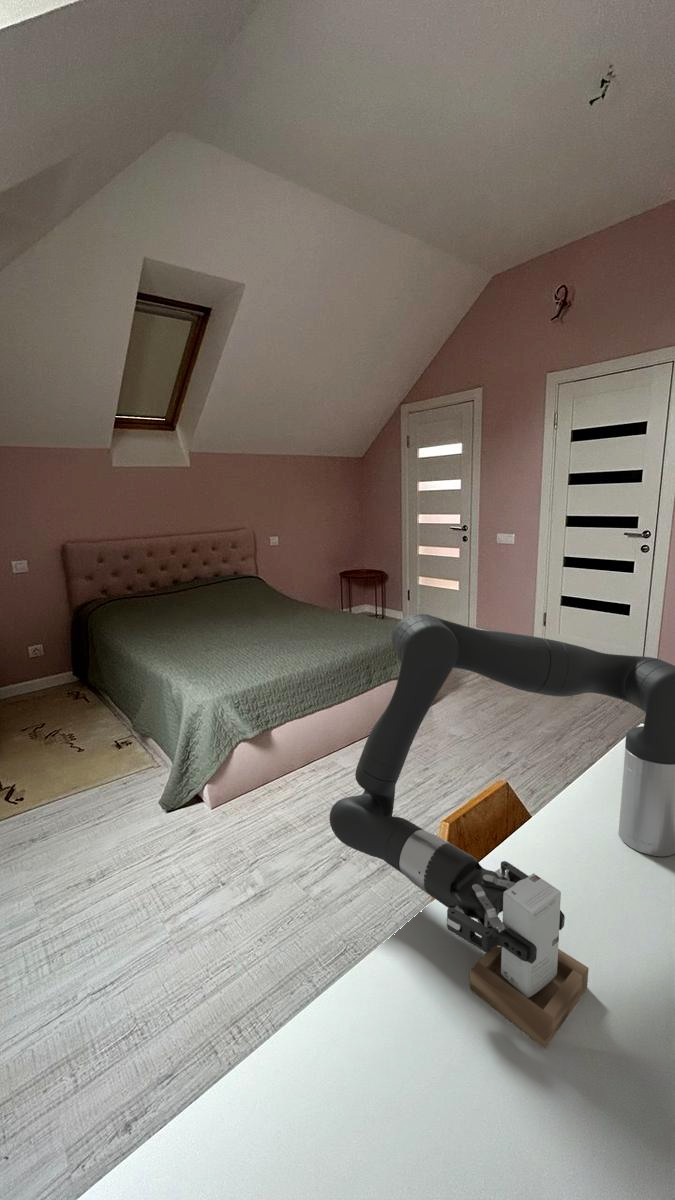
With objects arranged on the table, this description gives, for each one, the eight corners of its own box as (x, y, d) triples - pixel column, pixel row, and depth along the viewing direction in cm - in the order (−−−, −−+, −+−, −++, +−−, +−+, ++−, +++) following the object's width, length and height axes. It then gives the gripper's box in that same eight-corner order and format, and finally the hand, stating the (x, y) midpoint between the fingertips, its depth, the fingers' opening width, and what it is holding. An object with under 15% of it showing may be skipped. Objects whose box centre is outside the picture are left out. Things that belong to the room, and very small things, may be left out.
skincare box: (528, 1001, 62) (532, 915, 59) (498, 973, 66) (501, 891, 63) (559, 974, 65) (564, 892, 63) (528, 949, 69) (532, 870, 66)
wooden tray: (515, 939, 73) (516, 921, 72) (587, 987, 66) (588, 967, 65) (470, 989, 66) (470, 969, 65) (544, 1049, 58) (545, 1027, 58)
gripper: (405, 869, 69) (519, 947, 57) (468, 823, 78) (578, 881, 66) (405, 917, 71) (517, 1003, 58) (467, 866, 80) (574, 931, 68)
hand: (549, 938), depth 62 cm, fingers closed on skincare box, 6 cm apart
